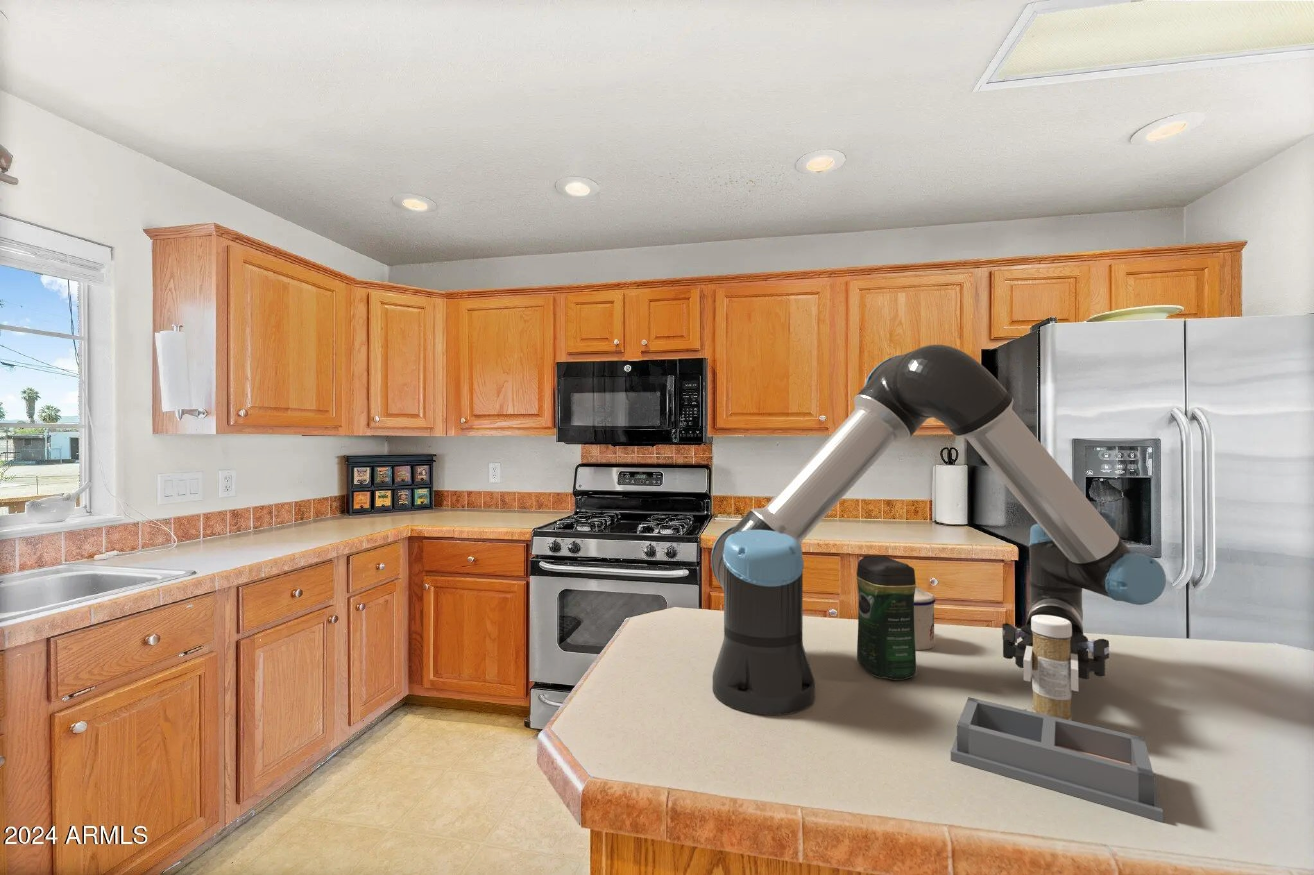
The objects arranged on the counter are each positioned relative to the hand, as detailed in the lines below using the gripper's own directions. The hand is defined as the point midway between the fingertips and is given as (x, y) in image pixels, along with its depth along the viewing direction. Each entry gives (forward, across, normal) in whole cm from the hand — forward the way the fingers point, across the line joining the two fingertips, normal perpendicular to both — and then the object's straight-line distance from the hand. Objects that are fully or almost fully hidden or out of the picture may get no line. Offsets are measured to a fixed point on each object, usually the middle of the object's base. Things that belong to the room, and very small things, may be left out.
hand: (1050, 675), depth 73 cm
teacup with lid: (-27, +23, -8) cm, 37 cm away
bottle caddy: (+9, 0, -8) cm, 12 cm away
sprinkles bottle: (-5, 0, -8) cm, 9 cm away
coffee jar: (-10, +23, -8) cm, 26 cm away
